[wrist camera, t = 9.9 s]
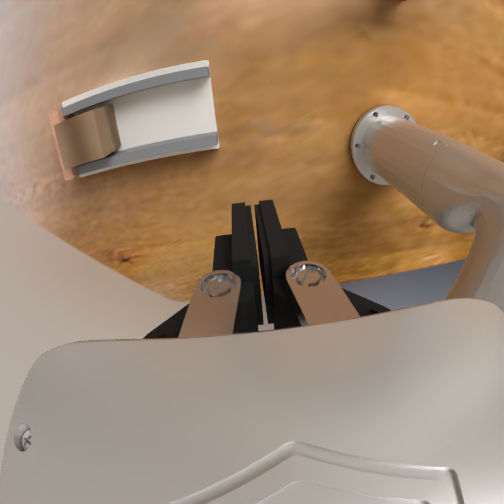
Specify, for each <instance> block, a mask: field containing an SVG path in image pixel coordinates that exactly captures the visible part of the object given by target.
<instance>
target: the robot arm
mask: <svg viewBox="0 0 504 504" xmlns="http://www.w3.org/2000/svg"><path fill="white" fill-rule="evenodd" d="M373 113H374V115H373ZM356 144H357V146H355V145H356ZM350 147H351V155H352V159H353V162H354V164H355V166H356V168H357V169H358V171H359V172H360V173H361V174H362V175H363V176H364V177H365V178H366V179H368V180H369V181H371V182H373V183H375V184H378V185H392V186H393V187H394V188H395V189H397V190H398V191H399V192H400V193H402V194H403V195H404V196H405V197H406V198H408V199H409V200H410V201H411V202H412V203H413V204H415V205H416V206H417V207H418V208H419V209H420V210H421V211H423V212H424V213H425V214H426V215H427V216H428V217H430V218H431V219H432V220H433V221H434V222H435V223H436V224H437V225H439V226H440V227H441V228H443V229H445V230H447V231H450V232H453V233H470V232H475V231H476V234H475V238H474V240H473V243H472V246H471V248H470V251H469V254H468V256H467V258H466V261H465V263H464V265H463V267H462V269H461V271H460V273H459V275H458V277H457V279H456V281H455V283H454V285H453V286H452V288H451V290H450V292H449V294H448V296H447V298H446V299H444V300H439V301H435V302H430V303H425V304H420V305H415V306H411V307H406V308H402V309H397V310H392V311H391V310H389V309H388V308H386V307H384V306H382V305H380V304H377V303H375V302H373V301H370V300H368V299H366V298H363V297H361V296H359V295H356V294H354V293H352V292H350V291H347V290H345V289H343V288H341V287H340V285H339V284H338V282H337V281H336V279H335V278H334V276H333V275H332V273H331V272H330V270H329V269H328V268H327V267H326V266H324V265H323V264H321V263H318V262H315V261H308V260H307V257H306V254H305V252H304V249H303V246H302V244H301V241H300V238H299V236H298V233H297V231H296V229H295V228H287V229H281V225H280V222H279V219H278V216H277V212H276V209H275V206H274V203H273V200H264V201H259V205H255V217H256V228H257V239H258V250H259V261H260V269H261V276H262V283H263V290H264V297H265V304H266V312H267V319H268V324H271V323H274V329H275V330H266V331H258V325H262V324H264V323H263V312H262V301H261V289H260V278H259V267H258V258H257V250H256V243H255V235H254V228H253V221H252V214H251V206H250V205H249V206H245V203H236V204H232V234H230V235H221V236H216V238H215V249H214V261H213V272H209V273H207V274H205V275H204V276H202V277H201V278H200V279H199V280H198V282H197V284H196V286H195V289H194V292H193V295H192V298H191V301H190V303H189V304H188V305H187V306H185V307H184V308H182V309H181V310H180V311H178V312H177V313H176V314H174V315H173V316H172V317H170V318H169V319H168V320H166V321H165V322H163V323H162V324H161V325H159V326H158V327H157V328H155V329H154V330H153V331H151V332H150V333H148V334H147V335H146V336H145V337H144V338H143V339H116V340H89V341H79V342H74V343H69V344H65V345H62V346H59V347H56V348H53V349H51V350H49V351H47V352H45V353H44V354H42V355H41V356H40V357H39V358H38V359H37V360H36V361H35V363H34V364H33V366H32V367H31V369H30V371H29V373H28V375H27V377H26V379H25V381H24V383H23V385H22V388H21V391H20V393H19V396H18V399H17V402H16V405H15V408H14V411H13V414H12V418H11V421H10V425H9V430H8V434H7V438H6V443H5V448H4V454H3V460H2V466H1V476H0V504H504V162H501V161H499V160H497V159H495V158H493V157H491V156H489V155H486V154H484V153H482V152H480V151H478V150H476V149H474V148H472V147H470V146H468V145H465V144H463V143H461V142H459V141H457V140H455V139H452V138H450V137H448V136H445V135H443V134H441V133H438V132H436V131H433V130H431V129H428V128H426V127H423V126H420V125H418V124H417V123H416V122H415V120H414V119H413V118H412V116H411V115H410V114H409V113H407V112H406V111H405V110H403V109H401V108H399V107H395V106H390V105H382V106H377V107H374V108H372V109H370V110H369V111H367V112H366V113H365V114H364V115H362V116H361V117H360V119H359V120H358V122H357V123H356V125H355V127H354V130H353V133H352V137H351V146H350Z"/></svg>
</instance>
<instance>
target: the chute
mask: <svg viewBox="0 0 504 504" xmlns="http://www.w3.org/2000/svg"><path fill="white" fill-rule="evenodd" d="M62 104H63V108H61V109H58V110H55V111H53V112H51V113H49V114H48V115H49V120H50V124H51V129H52V133H53V138H54V142H55V146H56V150H57V154H58V157H59V161H60V164H61V168H62V171H63V175H64V178H65V181H67V180H70V179H73V178H75V177H76V176H78V175H80V178H81V177H85V176H88V175H92V174H95V173H99V172H103V171H106V170H110V169H114V168H118V167H122V166H127V165H131V164H135V163H140V162H144V161H149V160H154V159H159V158H164V157H169V156H174V155H180V154H185V153H191V152H198V151H204V150H211V149H218V148H219V147H220V146H219V139H218V132H217V124H216V116H215V108H214V101H213V93H212V84H211V76H210V68H209V60H204V61H198V62H192V63H187V64H182V65H177V66H172V67H167V68H163V69H159V70H155V71H151V72H147V73H143V74H139V75H136V76H132V77H129V78H126V79H122V80H119V81H116V82H113V83H110V84H107V85H104V86H101V87H99V88H96V89H93V90H91V91H88V92H85V93H83V94H80V95H78V96H76V97H73V98H71V99H69V100H66V101H64V102H62ZM111 104H113V107H114V112H115V118H116V123H117V128H118V132H119V137H120V142H121V146H120V147H118V148H117V149H116V150H114V151H113V152H111V153H110V154H108V155H107V156H106V157H104V158H101V159H98V160H94V161H91V162H88V163H84V164H81V165H78V166H75V167H72V168H69V169H66V170H65V168H64V164H63V161H62V157H61V154H60V150H59V146H58V142H57V138H56V133H55V129H54V125H56V124H58V123H60V122H63V121H65V120H67V119H70V118H72V117H75V116H77V115H80V114H82V113H85V112H88V111H91V110H93V109H97V108H100V107H104V106H108V105H111Z"/></svg>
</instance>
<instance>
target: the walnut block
mask: <svg viewBox="0 0 504 504" xmlns="http://www.w3.org/2000/svg"><path fill="white" fill-rule="evenodd" d="M54 129H55V133H56V138H57V142H58V146H59V150H60V154H61V157H62V161H63V164H64V168H65V170H66V169H69V168H72V167H75V166H78V165H81V164H84V163H88V162H91V161H94V160H98V159H101V158H104V157H106V156H107V155H108V154H110V153H111V152H113V151H114V150H116V149H117V148H118V147H120V146H121V142H120V137H119V132H118V128H117V123H116V118H115V112H114V107H113V104H111V105H108V106H104V107H100V108H97V109H93V110H91V111H88V112H85V113H82V114H80V115H77V116H75V117H72V118H70V119H67V120H65V121H63V122H60V123H58V124H56V125H54Z"/></svg>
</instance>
